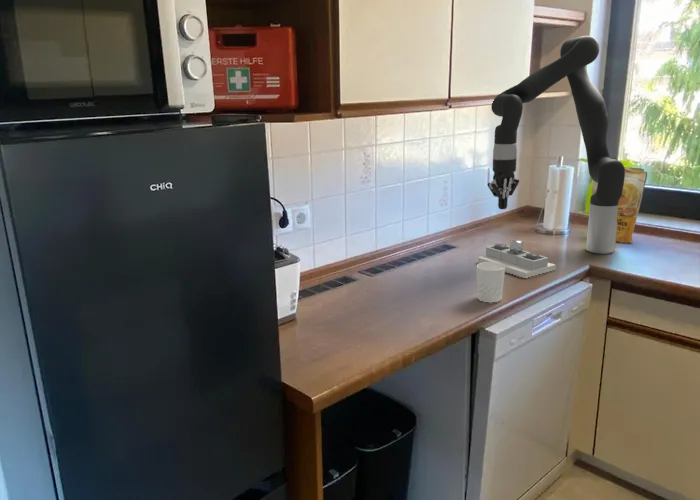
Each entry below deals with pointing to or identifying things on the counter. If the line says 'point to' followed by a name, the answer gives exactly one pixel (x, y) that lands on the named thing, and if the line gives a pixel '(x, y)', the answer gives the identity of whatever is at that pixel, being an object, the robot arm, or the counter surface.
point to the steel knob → (516, 246)
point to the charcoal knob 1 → (500, 246)
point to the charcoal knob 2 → (532, 256)
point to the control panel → (517, 262)
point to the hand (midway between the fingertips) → (502, 208)
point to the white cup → (490, 281)
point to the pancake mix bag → (628, 202)
